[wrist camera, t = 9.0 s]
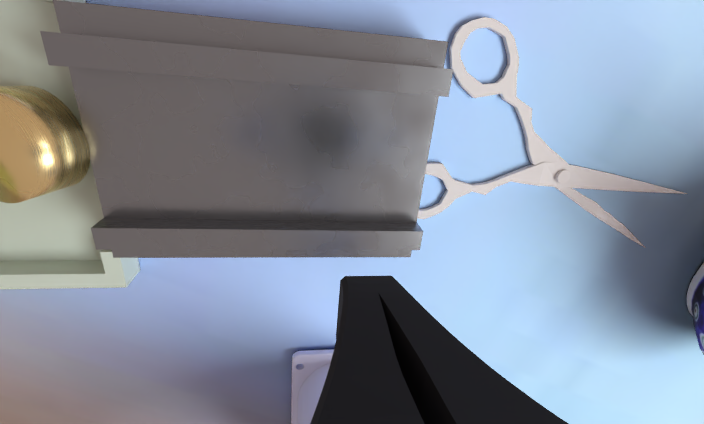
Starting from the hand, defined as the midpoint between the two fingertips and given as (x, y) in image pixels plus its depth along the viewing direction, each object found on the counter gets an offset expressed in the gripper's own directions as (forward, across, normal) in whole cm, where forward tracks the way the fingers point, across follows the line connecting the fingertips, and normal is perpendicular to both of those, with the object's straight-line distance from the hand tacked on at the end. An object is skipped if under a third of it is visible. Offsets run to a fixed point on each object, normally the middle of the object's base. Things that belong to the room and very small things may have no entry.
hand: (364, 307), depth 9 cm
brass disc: (+8, +12, -2) cm, 14 cm away
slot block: (+9, +3, -2) cm, 10 cm away
